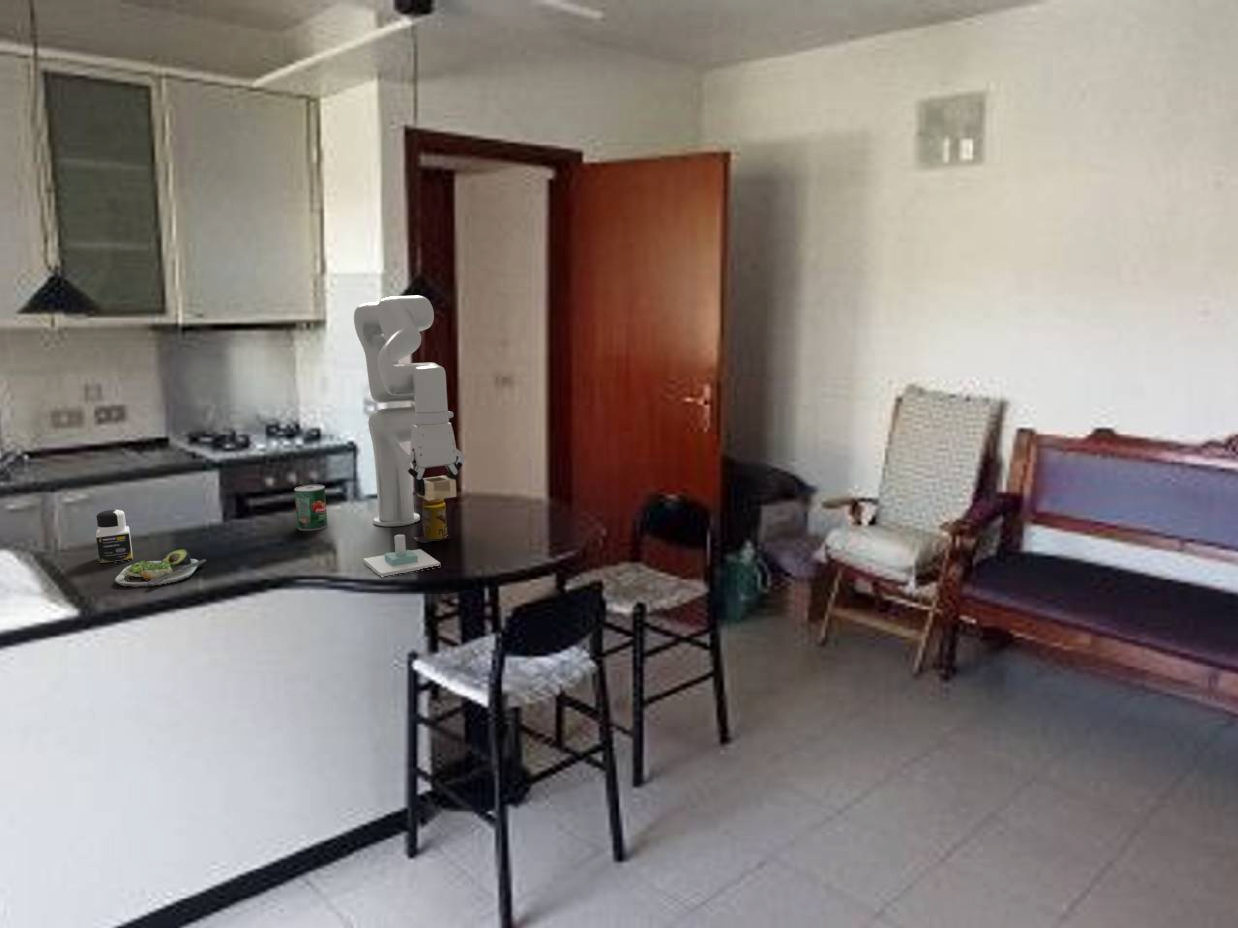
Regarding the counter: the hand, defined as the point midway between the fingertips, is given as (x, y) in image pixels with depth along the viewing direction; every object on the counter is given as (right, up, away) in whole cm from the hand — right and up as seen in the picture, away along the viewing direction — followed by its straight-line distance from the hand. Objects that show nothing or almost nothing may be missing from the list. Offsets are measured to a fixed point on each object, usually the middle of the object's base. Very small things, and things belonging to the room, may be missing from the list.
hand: (436, 491), depth 224 cm
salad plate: (-62, -19, -7) cm, 66 cm away
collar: (0, -1, 0) cm, 1 cm away
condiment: (-5, -13, +19) cm, 23 cm away
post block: (-8, -17, -3) cm, 19 cm away
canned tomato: (-40, -11, +33) cm, 53 cm away
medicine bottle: (-80, -17, +7) cm, 82 cm away
